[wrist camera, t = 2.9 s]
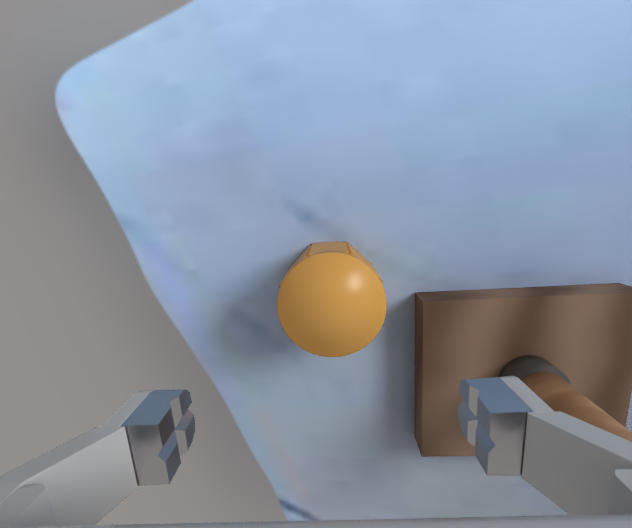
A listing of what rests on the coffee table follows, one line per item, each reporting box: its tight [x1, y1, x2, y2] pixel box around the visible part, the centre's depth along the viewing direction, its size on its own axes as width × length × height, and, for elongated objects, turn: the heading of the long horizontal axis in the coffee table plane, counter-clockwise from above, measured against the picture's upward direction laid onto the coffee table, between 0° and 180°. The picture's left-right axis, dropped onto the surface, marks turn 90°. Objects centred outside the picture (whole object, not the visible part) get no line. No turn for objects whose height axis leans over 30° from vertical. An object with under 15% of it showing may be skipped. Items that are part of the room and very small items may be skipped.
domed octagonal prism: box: [277, 241, 387, 357], centre depth 20 cm, size 6×6×5 cm
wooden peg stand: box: [415, 283, 632, 457], centre depth 19 cm, size 14×12×9 cm
